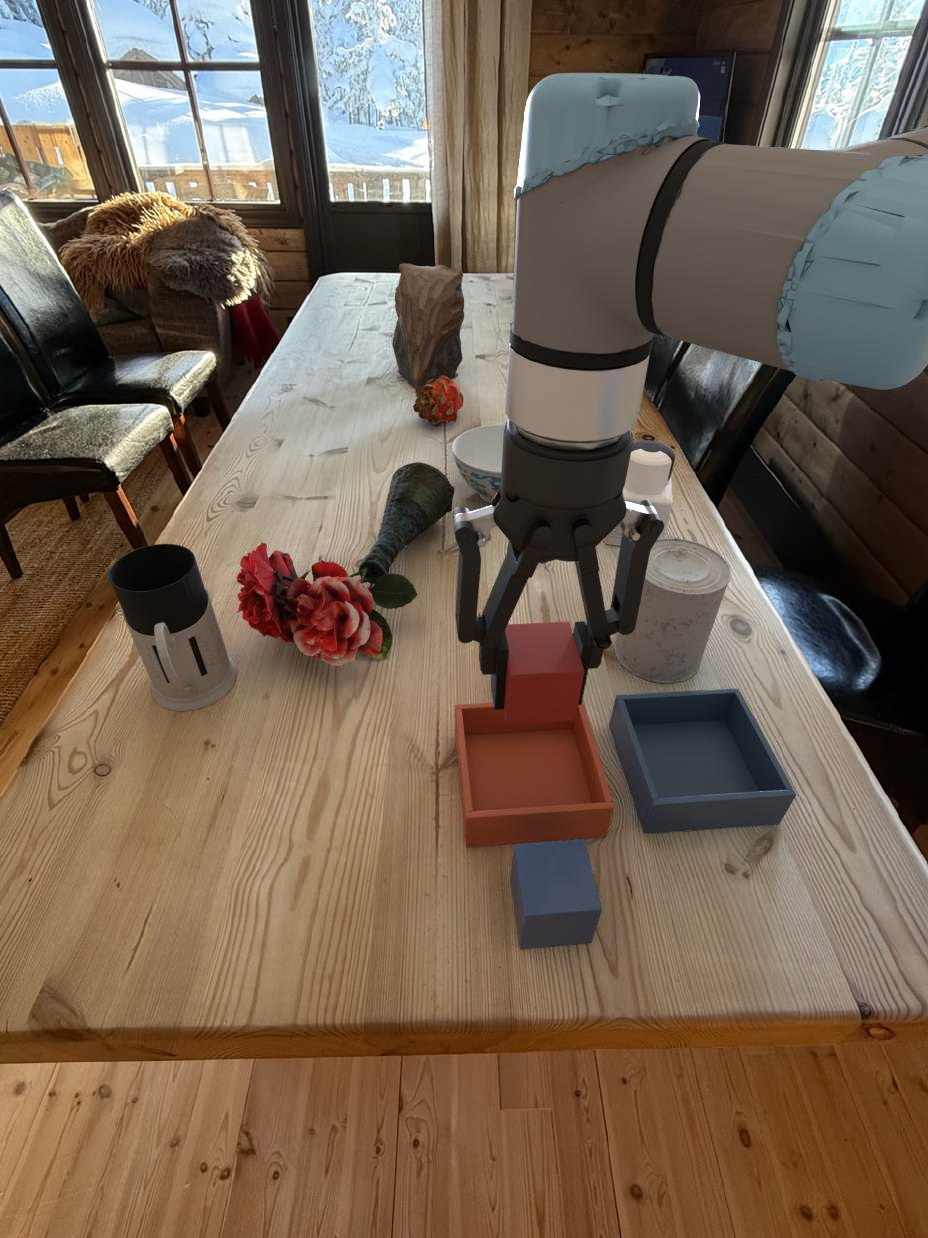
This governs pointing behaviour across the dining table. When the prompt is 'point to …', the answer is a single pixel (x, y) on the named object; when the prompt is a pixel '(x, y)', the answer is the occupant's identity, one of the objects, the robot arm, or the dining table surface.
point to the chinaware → (480, 458)
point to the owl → (428, 323)
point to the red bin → (529, 778)
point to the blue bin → (698, 761)
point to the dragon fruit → (438, 400)
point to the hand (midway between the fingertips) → (535, 694)
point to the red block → (542, 673)
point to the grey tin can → (674, 611)
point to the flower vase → (345, 579)
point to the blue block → (554, 894)
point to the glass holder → (173, 626)
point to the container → (648, 482)
